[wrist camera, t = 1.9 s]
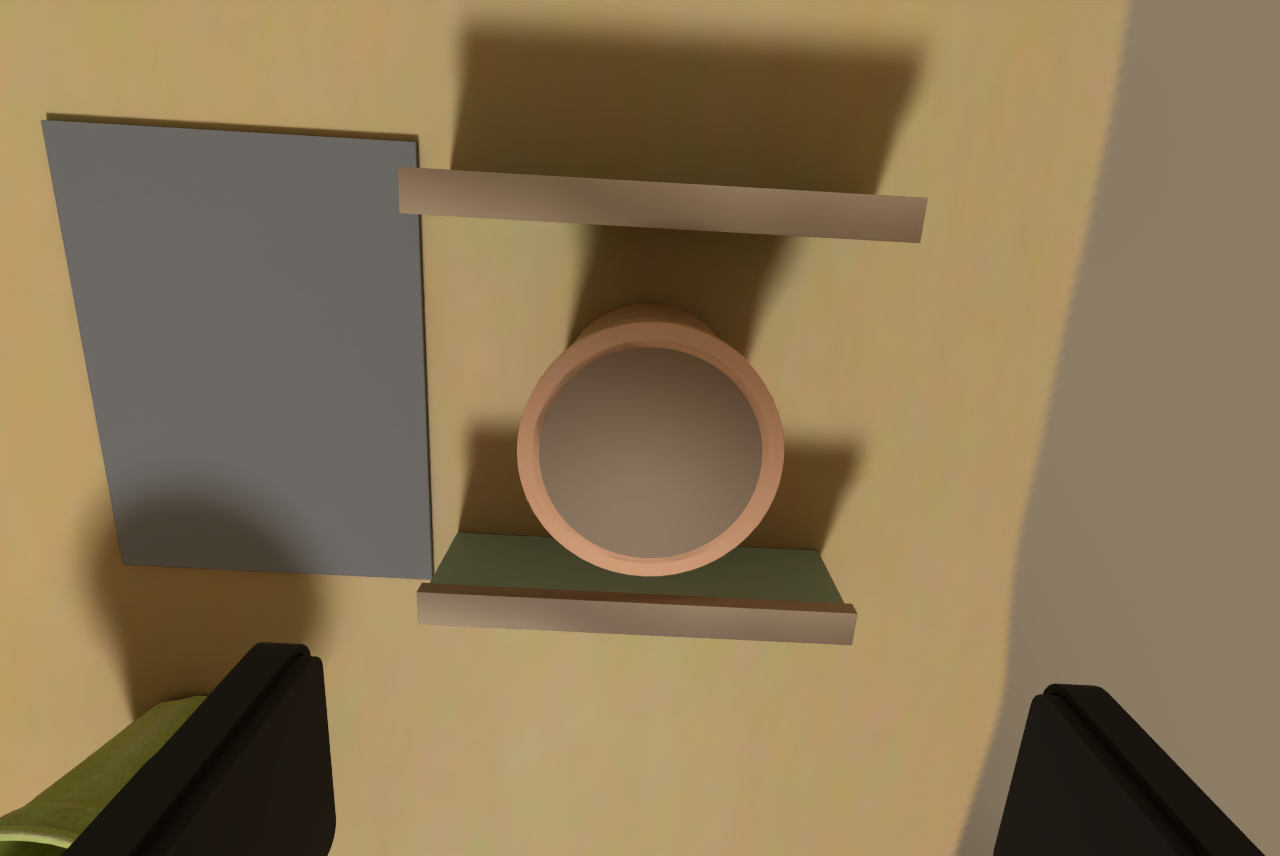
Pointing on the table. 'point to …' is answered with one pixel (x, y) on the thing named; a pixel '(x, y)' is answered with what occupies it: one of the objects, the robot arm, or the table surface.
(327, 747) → the robot arm
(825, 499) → the table surface
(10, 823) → the plant pot
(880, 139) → the table surface
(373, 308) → the mat
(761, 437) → the seedling pot
